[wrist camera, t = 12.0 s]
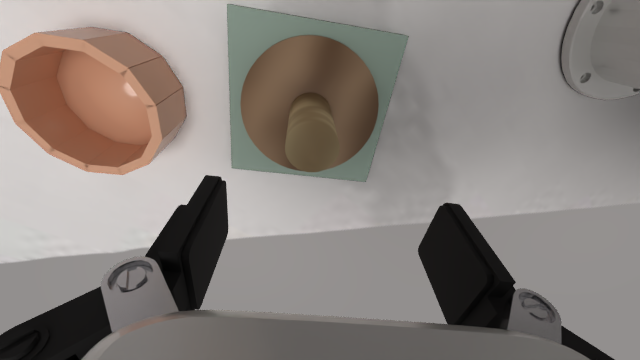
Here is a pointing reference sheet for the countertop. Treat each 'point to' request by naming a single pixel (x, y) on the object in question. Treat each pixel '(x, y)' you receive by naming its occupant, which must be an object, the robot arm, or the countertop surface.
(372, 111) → the lid
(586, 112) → the countertop surface
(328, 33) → the mat
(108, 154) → the bowl
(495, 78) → the countertop surface
